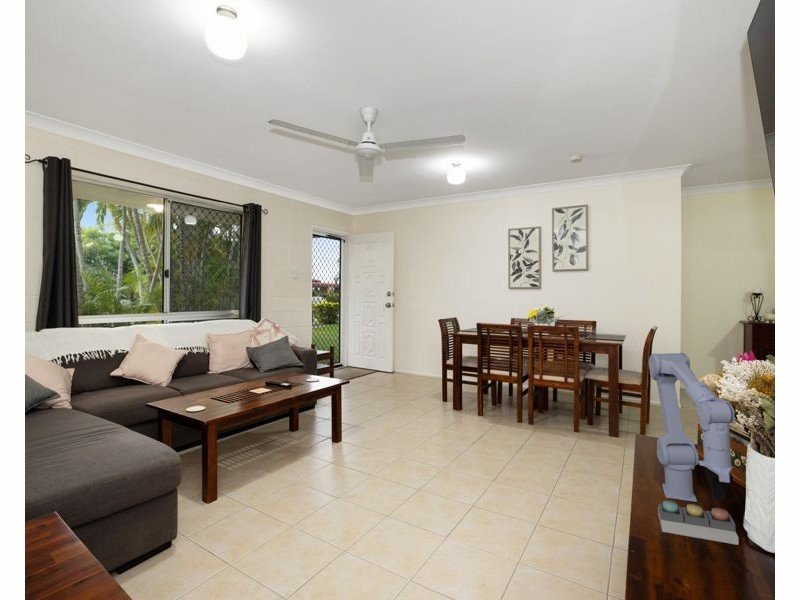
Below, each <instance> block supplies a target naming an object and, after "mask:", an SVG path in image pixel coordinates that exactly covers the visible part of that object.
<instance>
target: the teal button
mask: <svg viewBox="0 0 800 600" xmlns="http://www.w3.org/2000/svg"><path fill="white" fill-rule="evenodd" d="M662 504H663V510H664V511H665V512H668V513H674V514H677V513H678V507H679V505H678V503H676V502H675V501H671V500H663V501H662Z"/></svg>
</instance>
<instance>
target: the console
mask: <svg viewBox="0 0 800 600" xmlns="http://www.w3.org/2000/svg"><path fill="white" fill-rule="evenodd" d="M657 505H658V506H657V515H658V519H659V523H660V529H661V532H662V533H669V534H674V535H680V536H684V537H685V536H686V537H691V538H695V539H696V538H697V539H702V540H707V541H715V542H719V543H727V544H731V545H739V536H738V533H737V532H736V531H737V530H736V523H735V521H734V519H733V518H732V516H731V514H730V513H728V521H727V522H726V521H719V520H715V519H714V518H712V510H711V511H710V510H705V509H702V514H703V516H702V517H701V518H700V517H694V516H690V515H688V514H687V507H685V506H678V513H677V514H674V513H668V512H665V511H664V510H663V503H658V504H657Z"/></svg>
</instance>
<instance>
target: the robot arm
mask: <svg viewBox="0 0 800 600" xmlns="http://www.w3.org/2000/svg"><path fill="white" fill-rule="evenodd" d="M648 368H649V374H650V377H651V380H654V381H655V382H656V386H657V392H658V397H659V398H658V399H659V403H660V410H661V415H662V416H661V417H662V421H663V427H664V432H665V433H664V434H662V436H660V437H659V438H658V439H657V440H656V446H657V447H656V454H657V455H656V456H657V458H658V461H659V462H660V464H662V465H663V467H664V468H663V469H664V483H661V485H662V488H663V489H662V490H663V493H664V496H665V498H667V499H672V500H681V501H686V502H688V501H689V502H695V503H697V502H698V500H697V497H696V495H695V493H694V488H693V486H694V485H693V470H695V467H696V465H697V464H698V461H699V465H700V467H701V466H702V467H703V471H704V473H705V475H706V476H707V478H708V481H709V484H710V488H711V492H712V496H713V498H714V500H717V501H719V500H720V501H725V500H726V497H727V492H728V488H729V486H730V484H731V483H732V482H733V479H734V476H733V475H732V471H733V465H732V456H731V455H732V453H731V452H732V450H731V438H730V437H731V434H730V433H731V432H730V424H732V423H733V422H734V421H735V411H734V408H733V406H732V405H731V404H730V402H729V401H728V400H725V399H722V398H719V397H718V396H717V395H716V394H715V393H714V391H713V390H712V389H711V388H710V387H709V385H707V383H705V382H704V381H700V380H698V378H697V377H696V375H695V374H694V372H693V371H692V369H691V361H690V358H689V356H688V355H687V354H686V353H685V352H678V353H677V352H676V353H651V355H650V356H649V359H648ZM677 381H679V382H681V384H682V385H683V386H684V387H685V395H686V396H687V397H688V399H689V400H690V401H691V402H692V403H693V405H694V406H695V408H696V415H697V418H698V421H699V426H700V429H701V430H702V446H703V447H702V448H703V460H700V458H699V452H698V450H697V448H696V445H695V442H694V440H693V439H691V438H690V437H688V436H687V435H685V434H684V428H683V422H682V415H681V412H680V411H681V410H680V405H679V399H678V395H677V388H676V382H677Z"/></svg>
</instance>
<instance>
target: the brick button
mask: <svg viewBox="0 0 800 600" xmlns="http://www.w3.org/2000/svg"><path fill="white" fill-rule="evenodd" d="M711 511H712V518H714V519H715V520H719V521H726V522H727V521H728V514H729V512H728V511H727V510H726V509H723V508H719V507H713V508H711Z"/></svg>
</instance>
